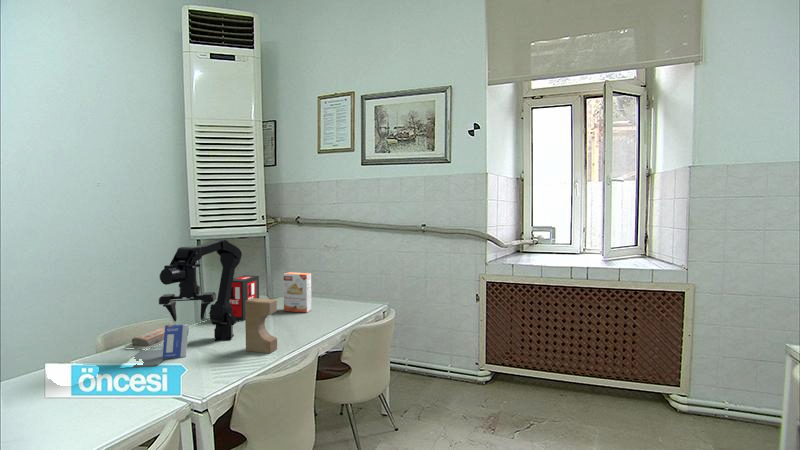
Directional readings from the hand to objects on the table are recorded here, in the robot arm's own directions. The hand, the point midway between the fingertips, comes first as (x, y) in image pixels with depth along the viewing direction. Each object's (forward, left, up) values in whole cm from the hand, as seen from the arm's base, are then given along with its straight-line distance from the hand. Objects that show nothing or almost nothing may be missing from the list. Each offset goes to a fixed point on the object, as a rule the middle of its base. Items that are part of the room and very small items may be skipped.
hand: (188, 320), depth 153 cm
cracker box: (-37, -60, -14) cm, 72 cm away
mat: (+13, +2, -13) cm, 19 cm away
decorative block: (-27, 0, -13) cm, 30 cm away
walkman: (+5, +2, -13) cm, 14 cm away
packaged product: (+19, -18, -14) cm, 30 cm away
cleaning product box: (-10, -54, -14) cm, 57 cm away
